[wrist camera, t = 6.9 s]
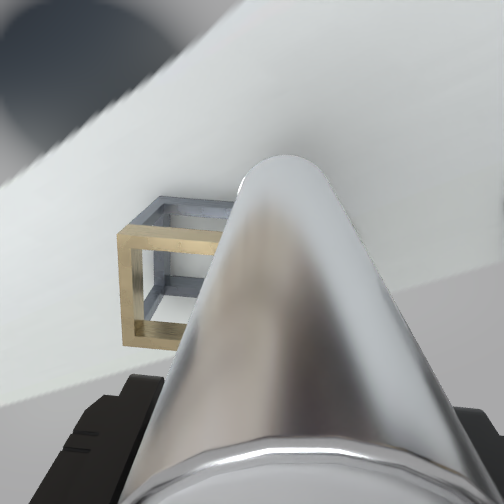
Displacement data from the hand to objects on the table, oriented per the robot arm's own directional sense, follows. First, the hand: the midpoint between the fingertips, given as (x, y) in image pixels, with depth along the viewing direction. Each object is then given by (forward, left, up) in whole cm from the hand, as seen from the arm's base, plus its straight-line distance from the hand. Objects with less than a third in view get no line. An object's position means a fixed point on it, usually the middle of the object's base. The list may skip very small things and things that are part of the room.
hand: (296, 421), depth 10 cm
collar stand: (+8, +11, -40) cm, 42 cm away
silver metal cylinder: (0, 0, -20) cm, 20 cm away
